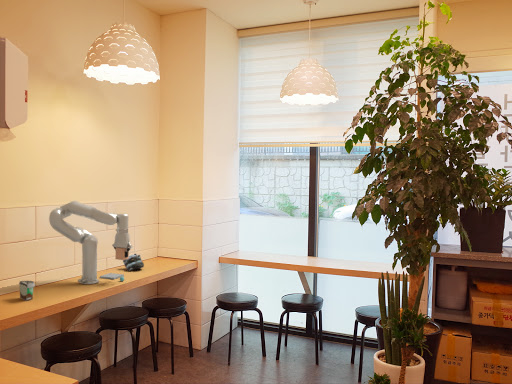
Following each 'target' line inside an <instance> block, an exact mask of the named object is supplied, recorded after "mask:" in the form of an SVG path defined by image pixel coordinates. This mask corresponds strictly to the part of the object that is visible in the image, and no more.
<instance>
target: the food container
mask: <svg viewBox="0 0 512 384" xmlns="http://www.w3.org/2000/svg"><path fill="white" fill-rule="evenodd" d="M18 283H19V284H18V285H19V299H21V300H23V301H25V302H29V301H32V300H33V298H34V297H33V296H34V287H35V286H36V285H35V282H34V281H33V280H19V282H18Z"/></svg>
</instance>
